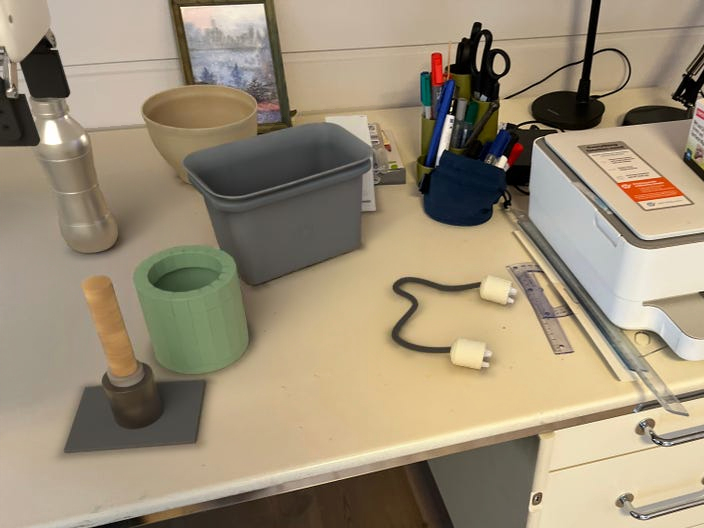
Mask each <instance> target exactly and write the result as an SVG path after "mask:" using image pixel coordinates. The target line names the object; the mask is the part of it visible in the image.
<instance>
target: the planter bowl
mask: <svg viewBox="0 0 704 528" xmlns="http://www.w3.org/2000/svg"><path fill="white" fill-rule="evenodd" d="M140 113H141V117H142V119H143V121H144V123H145V126H146V129H147V133H148V135H149V137H150V139H151V141H152V144H153V145H154V147H155V149H156V150H157V152H158V153H159V154H160V156H161V157H162V158H163V160H165V162H166V163H167V164H168V165H169V166H171V168H172V169H174V170H175V171H176V172H177V175H178V176H179V178H180V180H182V181H183V182H184V183H186V184H189V185H192V184H191V183H190V182H189V180H188V175H187V174H188V172H187V171H186V170H185V169H184V168H183V167H182V164H181V163H182V160H183V158H184V157H186V156H187V155H189V154H190V153H193V152H195V151H199V150H202V149H206V148H210V147H214V146H218V145H222V144H226V143H230V142H234V141H237V140H242V139H245V138H249V137H253V136H258V125H259V123H258V113H259V105H258V102H257V100H256V98H255V97H253V95H251V94H249V93H248V92H246V91H243V90H242V89H238V88H236V87H231V86H227V85H218V84H189V85H181V86H178V87H177V86H175V87H172V88H169V89H165V90H161V91H158V92H157V93H154V94H152V95H150V96H149V97H146V99H145V100H144V101H143V103H142V104H141V105H140Z"/></svg>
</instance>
